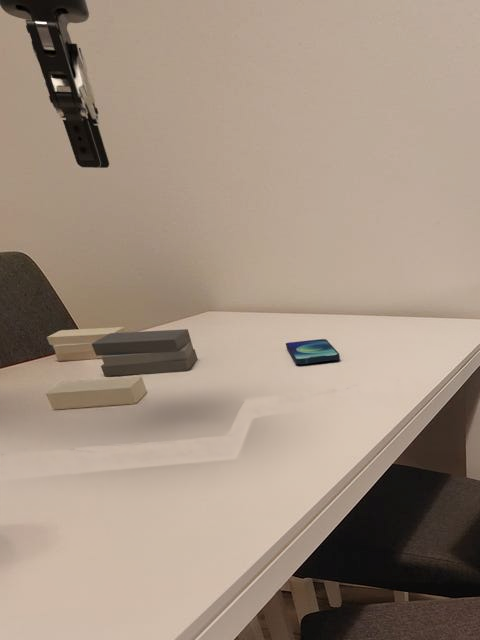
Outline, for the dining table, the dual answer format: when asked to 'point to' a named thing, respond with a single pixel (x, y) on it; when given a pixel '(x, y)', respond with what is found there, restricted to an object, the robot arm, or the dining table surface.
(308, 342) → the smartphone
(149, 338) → the grey stack
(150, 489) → the dining table surface
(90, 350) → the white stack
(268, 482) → the dining table surface
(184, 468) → the dining table surface
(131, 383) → the beige flat block
